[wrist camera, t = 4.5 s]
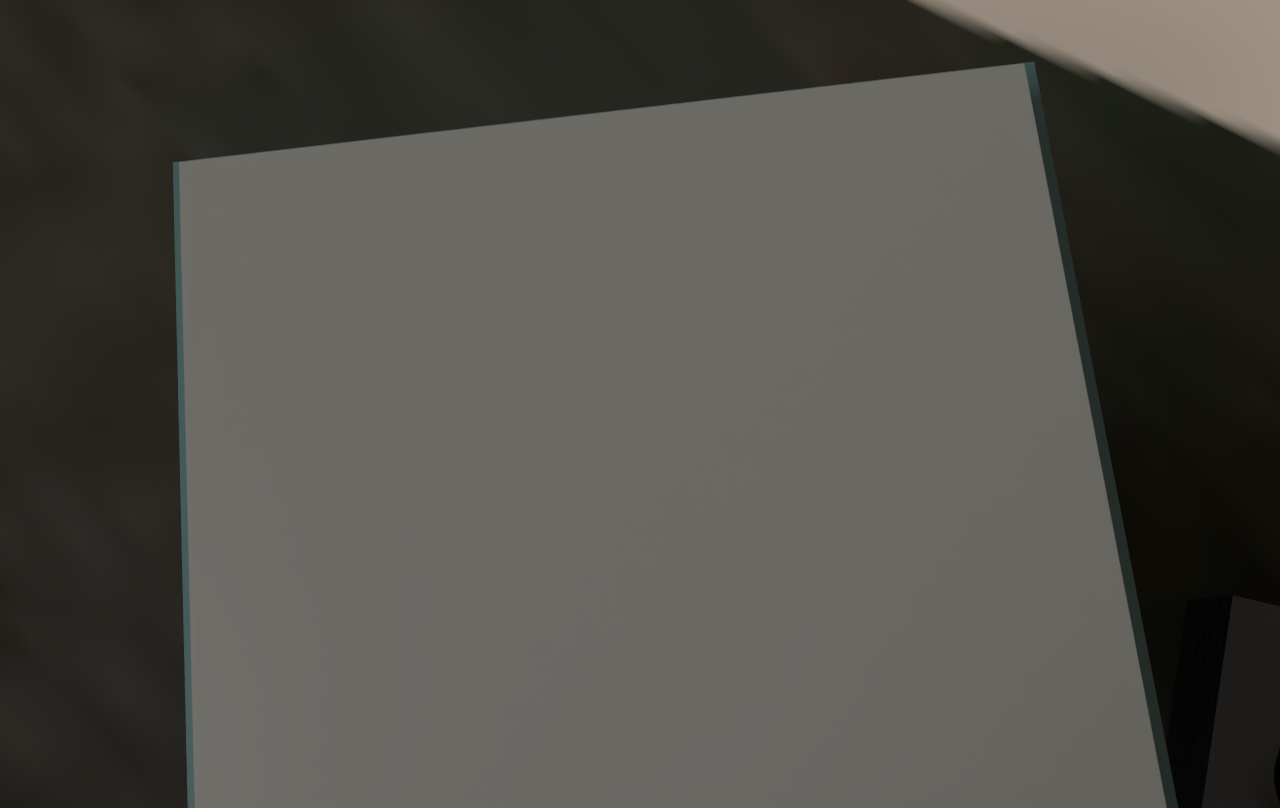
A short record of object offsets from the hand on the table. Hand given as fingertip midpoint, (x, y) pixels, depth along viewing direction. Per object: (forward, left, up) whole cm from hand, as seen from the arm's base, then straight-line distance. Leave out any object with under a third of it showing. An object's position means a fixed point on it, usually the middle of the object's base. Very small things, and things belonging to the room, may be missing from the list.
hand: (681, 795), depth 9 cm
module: (+2, 0, -9) cm, 9 cm away
